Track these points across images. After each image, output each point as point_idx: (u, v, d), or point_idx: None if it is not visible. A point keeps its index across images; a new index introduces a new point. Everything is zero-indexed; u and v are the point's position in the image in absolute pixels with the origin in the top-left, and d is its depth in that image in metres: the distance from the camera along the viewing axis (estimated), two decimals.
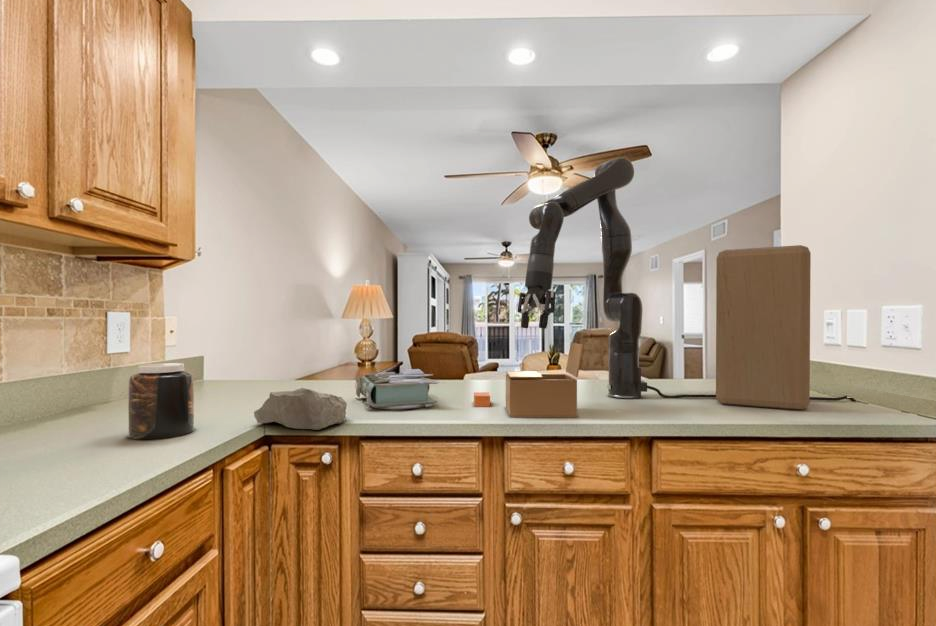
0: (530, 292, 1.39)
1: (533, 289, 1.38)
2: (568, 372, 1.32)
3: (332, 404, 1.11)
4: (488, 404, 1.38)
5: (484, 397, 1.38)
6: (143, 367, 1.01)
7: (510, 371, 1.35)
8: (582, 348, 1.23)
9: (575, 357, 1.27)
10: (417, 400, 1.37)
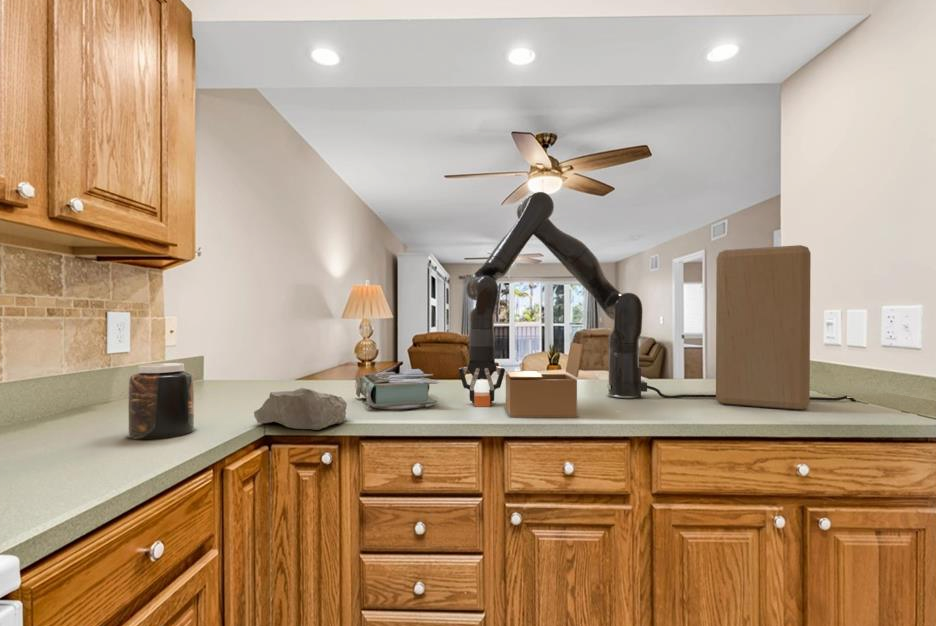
0: (475, 365, 1.40)
1: (480, 362, 1.40)
2: (568, 372, 1.32)
3: (332, 404, 1.11)
4: (488, 404, 1.38)
5: (484, 397, 1.38)
6: (143, 367, 1.01)
7: (510, 371, 1.35)
8: (582, 348, 1.23)
9: (575, 357, 1.27)
10: (417, 400, 1.37)
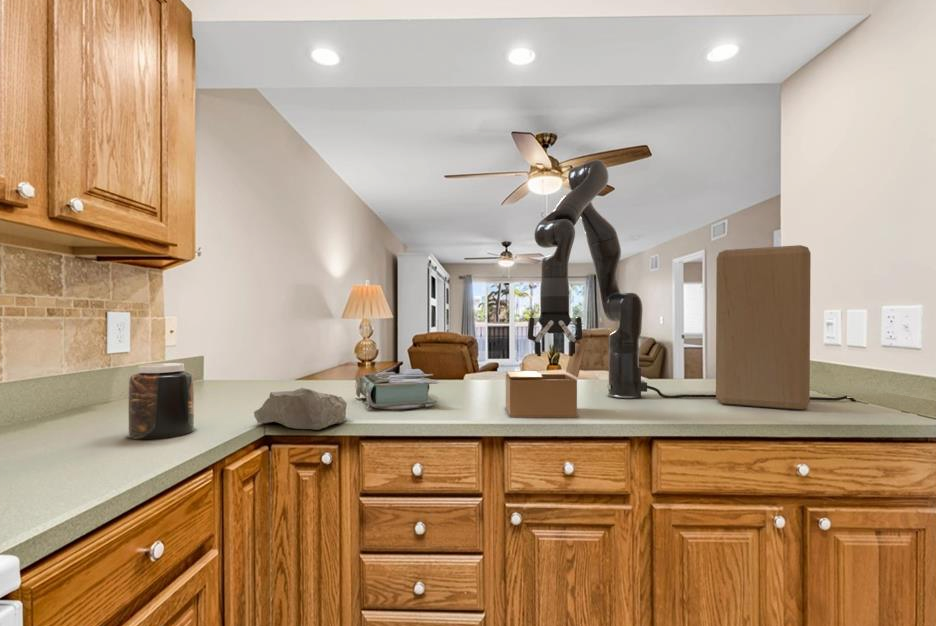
0: (548, 317, 1.28)
1: (554, 314, 1.28)
2: (568, 372, 1.32)
3: (332, 404, 1.11)
4: None
5: None
6: (143, 367, 1.01)
7: (510, 371, 1.35)
8: None
9: (577, 357, 1.27)
10: (417, 400, 1.37)
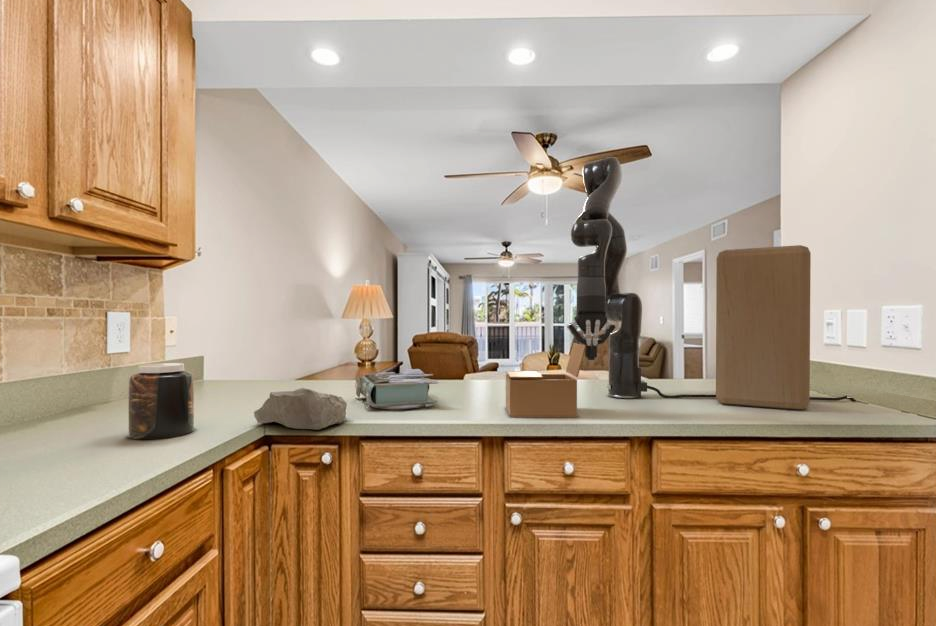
0: (585, 317, 1.28)
1: (590, 314, 1.28)
2: (568, 372, 1.32)
3: (332, 404, 1.11)
4: None
5: None
6: (143, 367, 1.01)
7: (510, 371, 1.35)
8: None
9: (577, 357, 1.27)
10: (417, 400, 1.37)
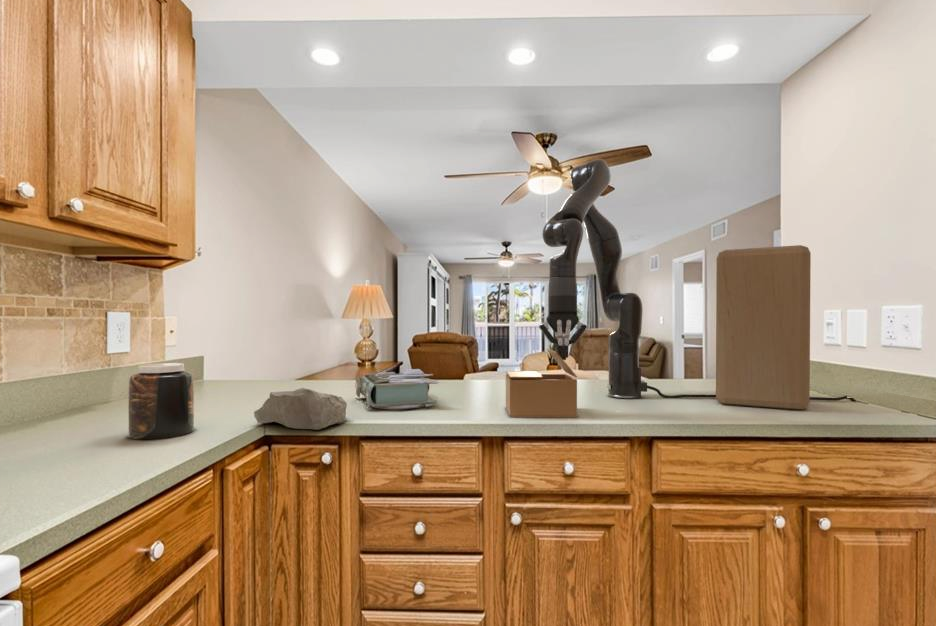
0: (556, 317, 1.28)
1: (561, 314, 1.28)
2: (568, 373, 1.32)
3: (332, 404, 1.11)
4: None
5: None
6: (143, 367, 1.01)
7: (510, 371, 1.35)
8: (558, 354, 1.23)
9: (560, 362, 1.27)
10: (417, 400, 1.37)
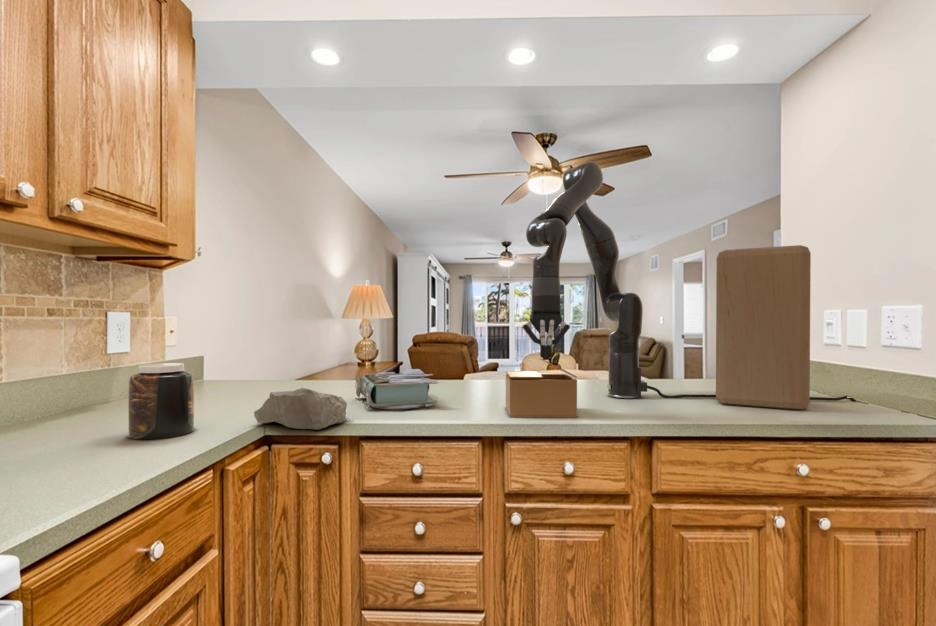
0: (539, 317, 1.28)
1: (545, 314, 1.28)
2: None
3: (332, 404, 1.11)
4: None
5: None
6: (143, 367, 1.01)
7: (510, 371, 1.35)
8: (550, 363, 1.23)
9: None
10: (417, 400, 1.37)
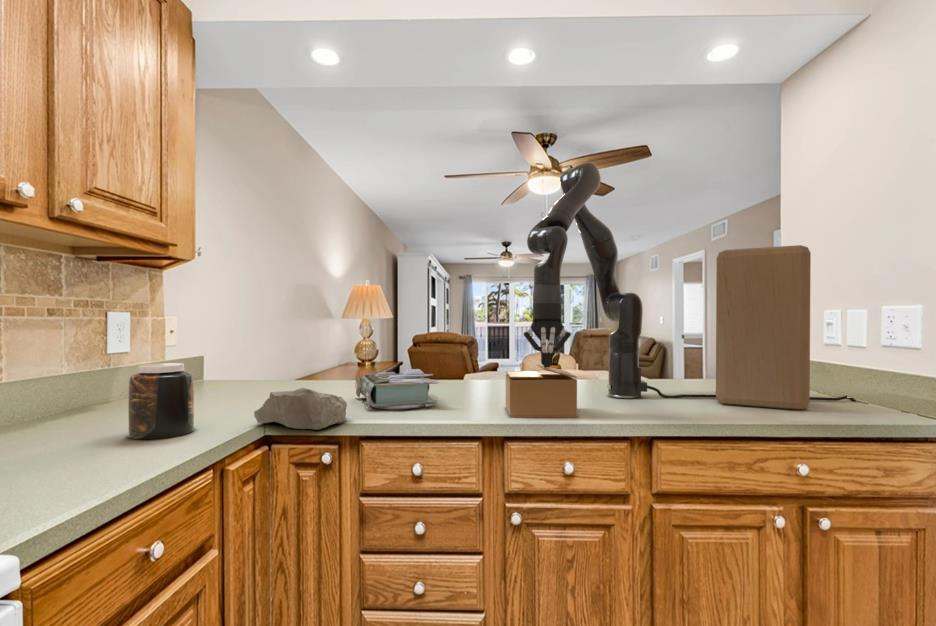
0: (540, 324, 1.28)
1: (546, 321, 1.28)
2: (568, 373, 1.32)
3: (332, 404, 1.11)
4: None
5: None
6: (143, 367, 1.01)
7: (510, 371, 1.35)
8: (548, 370, 1.23)
9: None
10: (417, 400, 1.37)
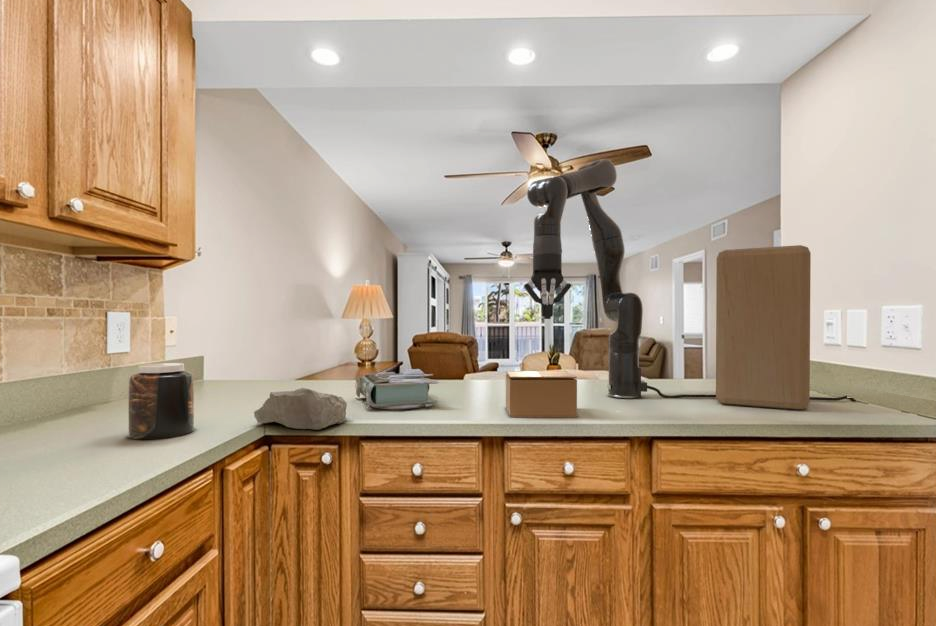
0: (541, 276, 1.28)
1: (546, 273, 1.28)
2: None
3: (332, 404, 1.11)
4: None
5: None
6: (143, 367, 1.01)
7: (510, 371, 1.35)
8: (547, 377, 1.23)
9: None
10: (417, 400, 1.37)
